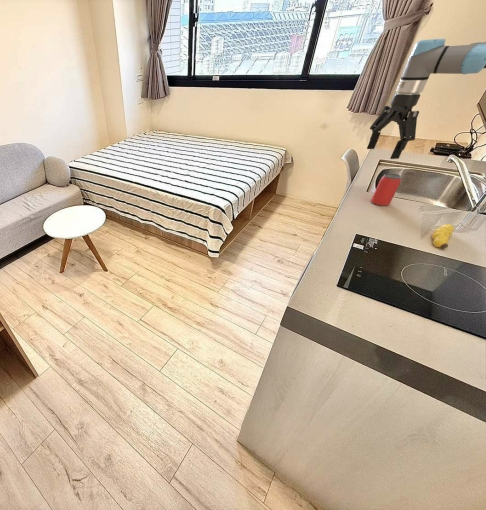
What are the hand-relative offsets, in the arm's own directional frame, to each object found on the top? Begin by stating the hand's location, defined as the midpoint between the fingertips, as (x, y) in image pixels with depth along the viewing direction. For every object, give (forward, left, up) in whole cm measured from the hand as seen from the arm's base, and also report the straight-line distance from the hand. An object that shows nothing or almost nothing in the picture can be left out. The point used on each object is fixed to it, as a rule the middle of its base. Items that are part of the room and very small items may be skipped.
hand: (381, 153), depth 112 cm
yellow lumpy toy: (-20, +28, -19) cm, 39 cm away
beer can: (-6, +4, -19) cm, 20 cm away
